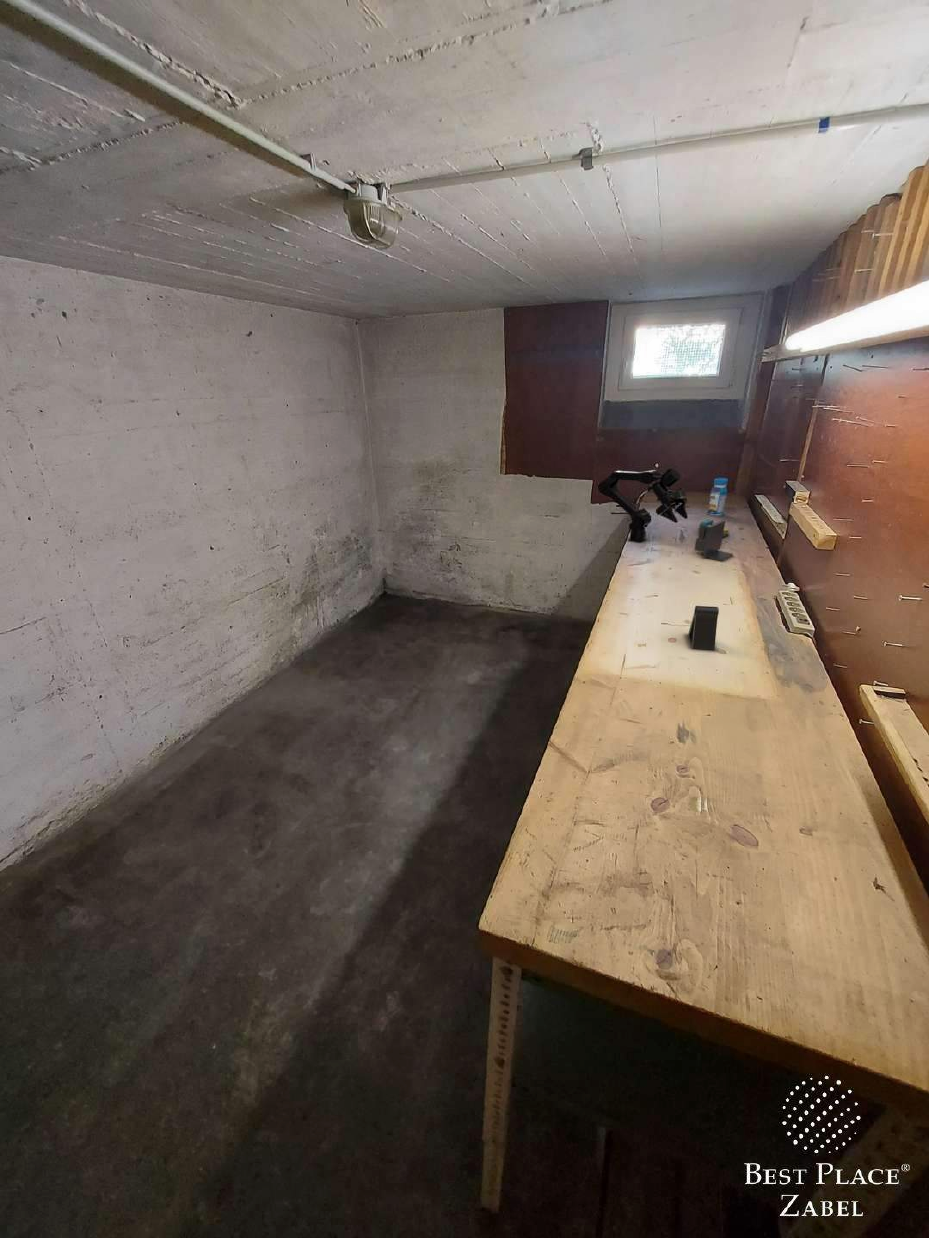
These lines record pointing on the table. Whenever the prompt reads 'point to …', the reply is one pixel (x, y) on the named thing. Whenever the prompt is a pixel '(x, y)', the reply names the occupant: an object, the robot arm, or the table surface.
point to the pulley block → (723, 531)
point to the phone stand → (703, 627)
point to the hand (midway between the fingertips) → (682, 520)
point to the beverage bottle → (718, 497)
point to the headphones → (702, 535)
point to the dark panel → (715, 542)
